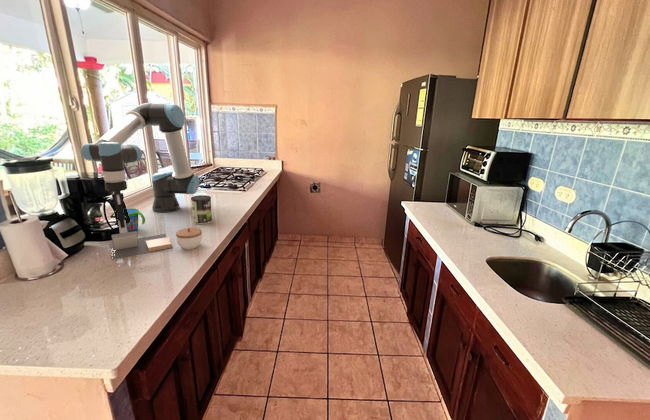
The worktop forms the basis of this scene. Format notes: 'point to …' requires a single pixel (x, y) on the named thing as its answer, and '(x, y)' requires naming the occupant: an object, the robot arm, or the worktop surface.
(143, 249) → the mat
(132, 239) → the white square tile
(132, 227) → the snack cup
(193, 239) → the lidded jar
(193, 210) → the coffee can
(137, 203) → the worktop surface
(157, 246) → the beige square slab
